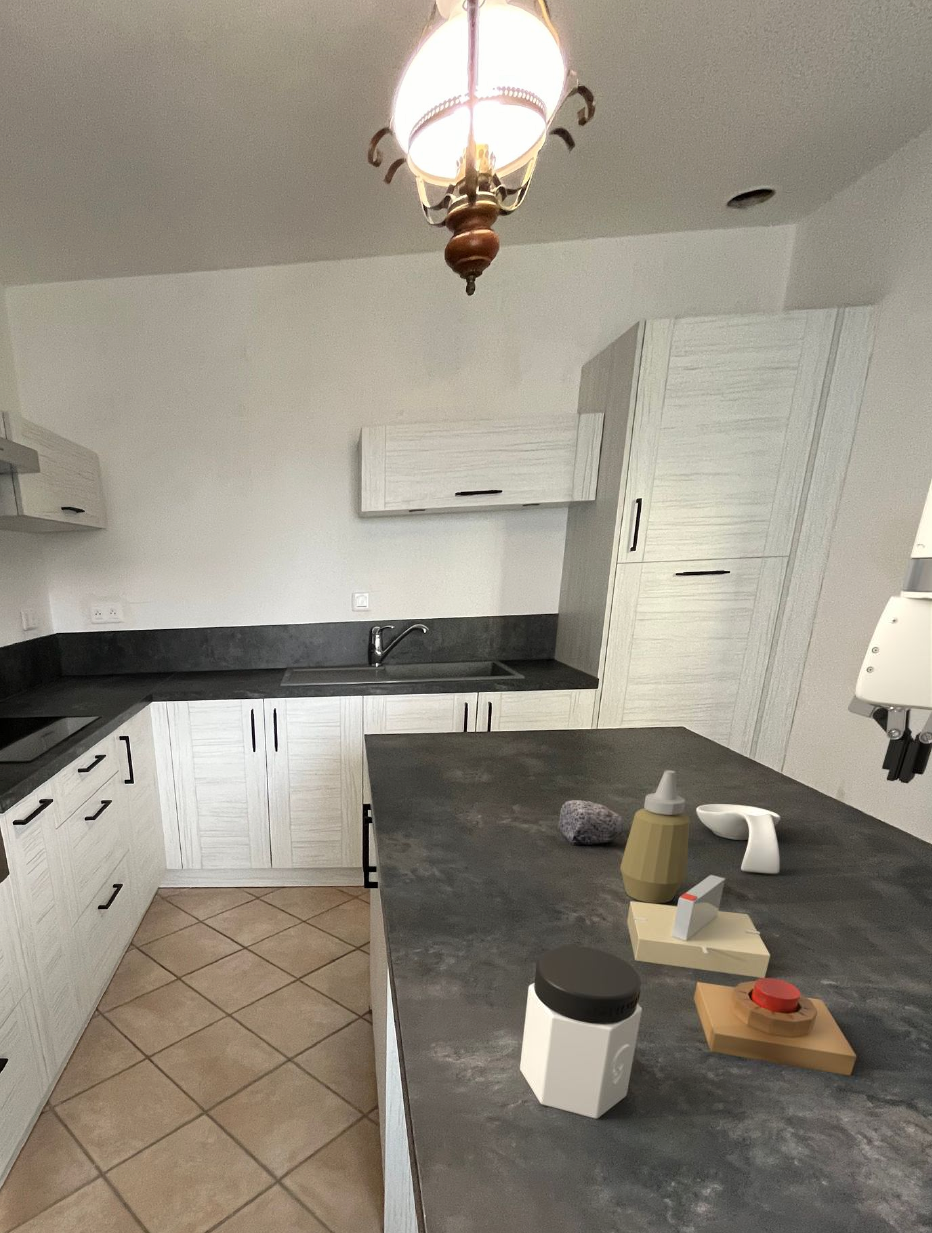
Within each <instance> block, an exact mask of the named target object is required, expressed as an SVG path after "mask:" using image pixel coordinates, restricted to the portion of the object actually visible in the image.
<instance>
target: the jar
mask: <svg viewBox="0 0 932 1233" xmlns="http://www.w3.org/2000/svg"><path fill="white" fill-rule="evenodd" d="M535 965H536V966H535V975H534V982H533V983H531V984H529V985H528V989H527V990H528V991H527V1000H526V1008H525V1017H524V1027H523V1037H522V1046H521V1054H520V1055H521V1056H520V1062H519V1063H520V1065H519V1070H520V1072H521V1074H522V1075H523V1077H524V1079H525V1080H526V1082H527V1084H528V1085H529V1087H530V1089H531V1090H532V1092H533V1094H534V1095H535V1097H536V1099H537V1100H538V1102H539V1103H540V1104H541V1105H542V1106H546V1107H550V1108H554V1109H557V1110H560V1111H564V1112H569V1113H572V1114H577V1115H580V1116H583V1117H588V1118H590V1119H591V1118H592V1119H595V1120H596V1119H599V1118H600V1117H602V1116H603V1115H604V1114H605V1113H607V1112H608V1111H609V1110H611V1109H612V1108H613V1107H614V1106H616V1105H617V1104H618V1103H619V1102H621V1101H622V1100H623V1099H624V1098H625V1097H627V1094H628V1090H629V1083H630V1079H631V1078H630V1077H631V1072H632V1066H633V1062H634V1056H635V1050H636V1046H637V1040H638V1033H639V1028H640V1024H641V1018H642V1013H643V1009H642V1007H641V1005H640V1004H639V1001H640V997H641V984H642V982H641V976H640V974H639V972H638V971H637V969H636V968H634V967H633V966H632V965H631V963H628V962H627V961H626V960H624V959H622V958H620V957H619V956H617V955H615V954H613V953H610V952H607V951H604V950H601V949H597V948H592V947H586V946H576V945H575V946H574V945H572V946H571V945H570V946H559V947H553V948H551V949H548V950H547V951H545V952H543V953H541V955H540V956H539V957H538V958H537V961H536V964H535Z"/></svg>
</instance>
